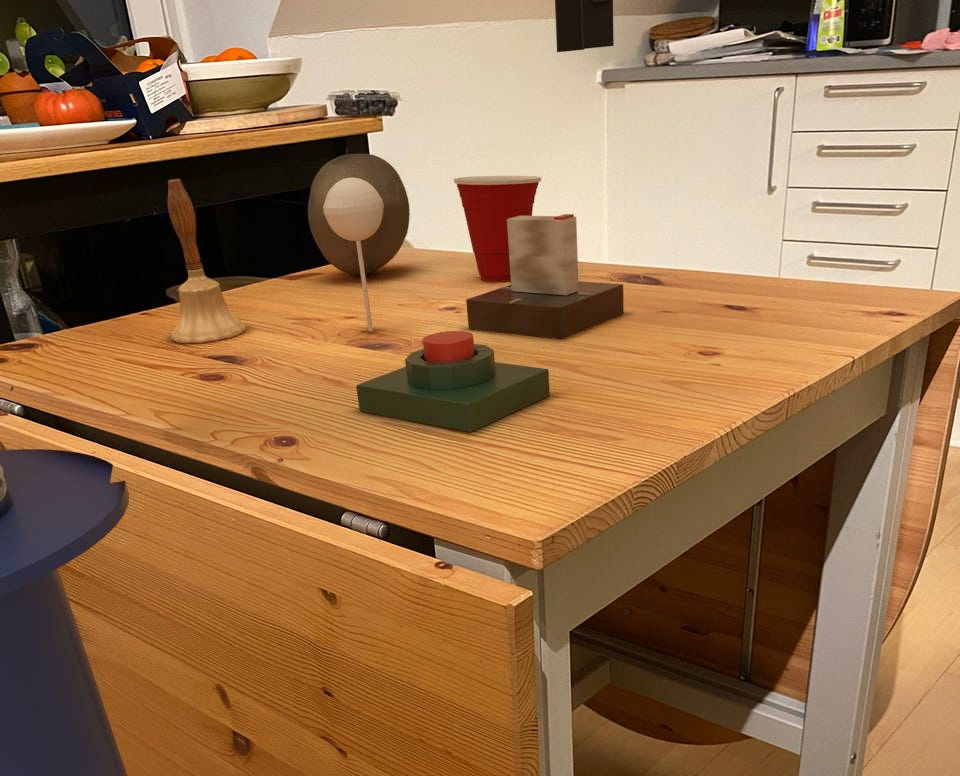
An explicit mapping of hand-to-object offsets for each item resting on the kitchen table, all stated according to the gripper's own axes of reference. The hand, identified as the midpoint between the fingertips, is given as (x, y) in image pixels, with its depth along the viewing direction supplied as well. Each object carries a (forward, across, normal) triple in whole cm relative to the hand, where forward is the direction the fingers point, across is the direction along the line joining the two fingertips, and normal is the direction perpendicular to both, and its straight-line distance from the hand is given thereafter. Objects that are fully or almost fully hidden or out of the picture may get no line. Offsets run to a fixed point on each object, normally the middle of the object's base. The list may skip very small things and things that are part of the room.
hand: (583, 50), depth 94 cm
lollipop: (+24, +1, +24) cm, 34 cm away
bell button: (+20, -29, +17) cm, 39 cm away
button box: (+24, -29, +17) cm, 41 cm away
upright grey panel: (+21, -4, +5) cm, 22 cm away
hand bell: (+24, +8, +42) cm, 49 cm away
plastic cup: (+24, +23, +7) cm, 34 cm away
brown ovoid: (+24, +35, +24) cm, 49 cm away
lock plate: (+24, -4, +5) cm, 25 cm away
